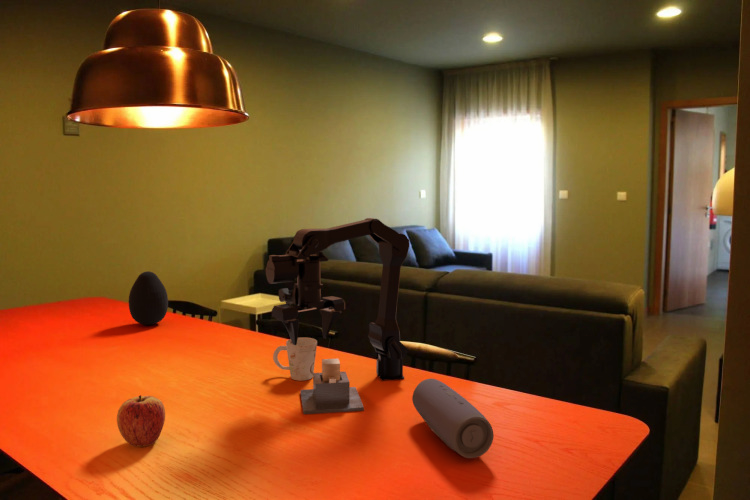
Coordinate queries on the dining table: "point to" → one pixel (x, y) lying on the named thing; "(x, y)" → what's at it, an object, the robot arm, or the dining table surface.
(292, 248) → the robot arm
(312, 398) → the stand base
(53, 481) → the dining table surface
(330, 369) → the column
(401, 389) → the dining table surface
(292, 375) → the mug
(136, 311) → the egg
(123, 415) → the apple
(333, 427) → the dining table surface
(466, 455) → the bluetooth speaker
